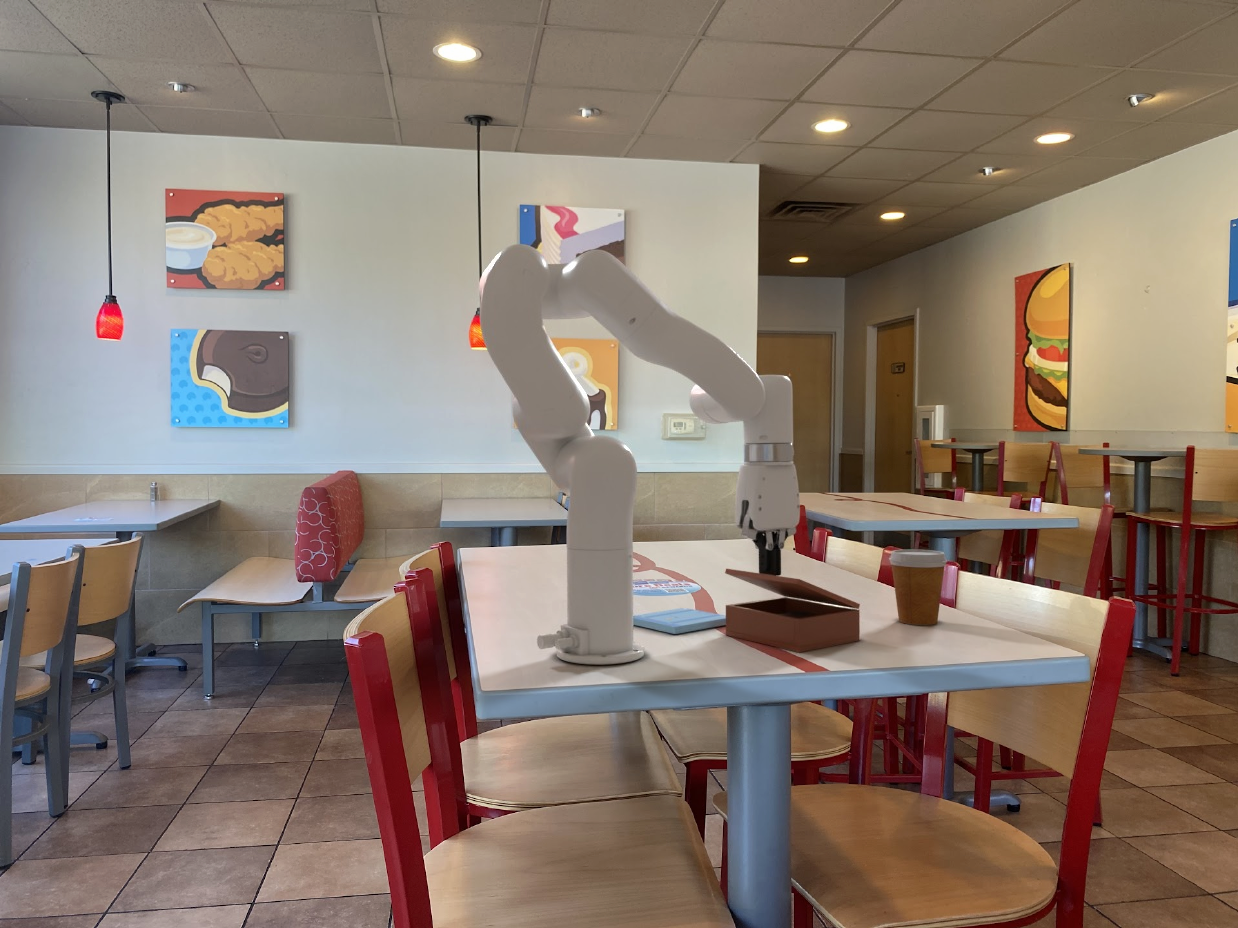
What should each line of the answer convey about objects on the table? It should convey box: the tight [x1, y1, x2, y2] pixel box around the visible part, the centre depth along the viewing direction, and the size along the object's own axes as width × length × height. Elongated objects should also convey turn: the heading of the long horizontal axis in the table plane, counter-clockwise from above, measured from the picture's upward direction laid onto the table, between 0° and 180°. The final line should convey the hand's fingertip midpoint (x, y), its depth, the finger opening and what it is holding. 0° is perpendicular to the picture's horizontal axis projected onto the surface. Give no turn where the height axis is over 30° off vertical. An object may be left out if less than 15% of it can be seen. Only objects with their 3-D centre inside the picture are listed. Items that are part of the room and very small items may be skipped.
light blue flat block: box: [633, 607, 726, 635], centre depth 147 cm, size 14×12×1 cm
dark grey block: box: [780, 611, 816, 618], centre depth 136 cm, size 8×5×3 cm, turn 126°
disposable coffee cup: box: [888, 549, 948, 626], centre depth 148 cm, size 10×10×12 cm
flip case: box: [725, 596, 861, 653], centre depth 136 cm, size 14×16×5 cm
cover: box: [724, 568, 861, 610], centre depth 136 cm, size 14×16×1 cm
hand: (770, 574), depth 133 cm, fingers closed
